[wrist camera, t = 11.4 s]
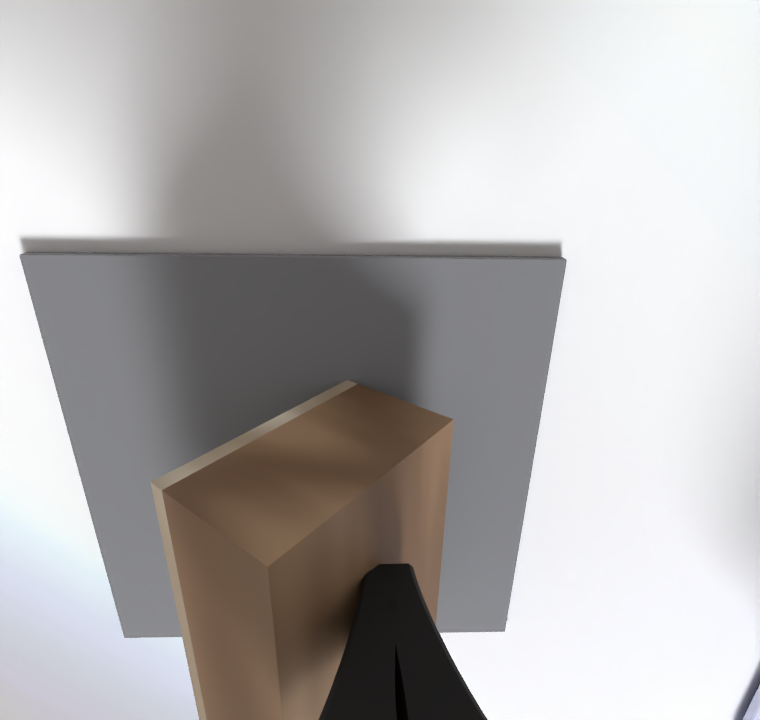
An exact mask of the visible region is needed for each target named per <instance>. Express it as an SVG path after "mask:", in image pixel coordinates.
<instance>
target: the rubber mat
mask: <svg viewBox="0 0 760 720" xmlns="http://www.w3.org/2000/svg"><path fill="white" fill-rule="evenodd" d="M20 259H21V262H22V266H23V270H24V273H25V277H26V281H27V284H28V288H29V292H30V295H31V299H32V302H33V306H34V310H35V313H36V317H37V321H38V324H39V328H40V332H41V335H42V339H43V343H44V346H45V350H46V353H47V357H48V361H49V364H50V368H51V372H52V375H53V379H54V383H55V386H56V390H57V394H58V397H59V401H60V405H61V408H62V412H63V415H64V419H65V423H66V426H67V430H68V434H69V437H70V441H71V445H72V448H73V452H74V456H75V459H76V463H77V466H78V470H79V474H80V477H81V481H82V485H83V488H84V492H85V496H86V499H87V503H88V507H89V510H90V514H91V517H92V521H93V525H94V528H95V532H96V536H97V539H98V543H99V547H100V550H101V554H102V558H103V561H104V565H105V568H106V572H107V576H108V579H109V583H110V587H111V590H112V594H113V598H114V601H115V605H116V609H117V612H118V616H119V620H120V623H121V627H122V630H123V634H124V638H140V637H182V633H181V628H180V623H179V618H178V614H177V609H176V604H175V599H174V594H173V589H172V584H171V580H170V575H169V570H168V565H167V560H166V555H165V550H164V546H163V541H162V536H161V531H160V526H159V521H158V516H157V512H156V507H155V502H154V497H153V492H152V487H151V483H150V482H152V481H154V480H156V479H158V478H160V477H162V476H164V475H165V474H167V473H169V472H171V471H173V470H175V469H177V468H179V467H181V466H183V465H185V464H187V463H189V462H190V461H192V460H194V459H196V458H198V457H200V456H202V455H204V454H206V453H208V452H210V451H212V450H213V449H215V448H217V447H219V446H221V445H223V444H225V443H227V442H229V441H231V440H233V439H235V438H236V437H238V436H240V435H242V434H244V433H246V432H248V431H250V430H252V429H254V428H256V427H258V426H260V425H261V424H263V423H265V422H267V421H269V420H271V419H273V418H275V417H277V416H279V415H281V414H283V413H284V412H286V411H288V410H290V409H292V408H294V407H296V406H298V405H300V404H302V403H304V402H306V401H308V400H309V399H311V398H313V397H315V396H317V395H319V394H321V393H323V392H325V391H327V390H329V389H331V388H332V387H334V386H336V385H338V384H340V383H342V382H344V381H346V380H349V381H351V382H354V383H357V384H360V385H362V386H365V387H368V388H370V389H373V390H376V391H378V392H381V393H384V394H387V395H389V396H392V397H395V398H397V399H400V400H403V401H405V402H408V403H411V404H414V405H416V406H419V407H422V408H424V409H427V410H430V411H432V412H435V413H438V414H440V415H443V416H446V417H449V418H451V419H454V422H453V434H452V445H451V457H450V468H449V480H448V491H447V503H446V514H445V526H444V537H443V549H442V560H441V572H440V584H439V595H438V607H437V618H436V628H437V630H438V632H439V633H443V632H503V631H505V626H506V621H507V615H508V609H509V603H510V597H511V591H512V585H513V579H514V573H515V567H516V561H517V555H518V549H519V543H520V537H521V531H522V525H523V519H524V513H525V507H526V501H527V495H528V489H529V483H530V477H531V471H532V465H533V459H534V453H535V447H536V441H537V435H538V429H539V423H540V417H541V411H542V405H543V399H544V393H545V387H546V381H547V375H548V369H549V363H550V357H551V351H552V345H553V339H554V333H555V327H556V321H557V315H558V309H559V303H560V297H561V291H562V285H563V279H564V273H565V267H566V261H567V260H566V259H564V258H563V257H468V256H360V255H251V254H142V253H34V252H26V253H24V254H21V255H20Z"/></svg>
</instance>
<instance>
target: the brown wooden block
mask: <svg viewBox="0 0 760 720" xmlns="http://www.w3.org/2000/svg"><path fill="white" fill-rule="evenodd" d="M453 422H454V419H451V418H449V417H446V416H443V415H440V414H438V413H435V412H432V411H430V410H427V409H424V408H422V407H419V406H416V405H414V404H411V403H408V402H405V401H403V400H400V399H397V398H395V397H392V396H389V395H387V394H384V393H381V392H378V391H376V390H373V389H370V388H368V387H365V386H362V385H360V384H357V383H354V382H351V381H349V380H346V381H344V382H342V383H340V384H338V385H336V386H334V387H332V388H331V389H329V390H327V391H325V392H323V393H321V394H319V395H317V396H315V397H313V398H311V399H309V400H308V401H306V402H304V403H302V404H300V405H298V406H296V407H294V408H292V409H290V410H288V411H286V412H284V413H283V414H281V415H279V416H277V417H275V418H273V419H271V420H269V421H267V422H265V423H263V424H261V425H260V426H258V427H256V428H254V429H252V430H250V431H248V432H246V433H244V434H242V435H240V436H238V437H236V438H235V439H233V440H231V441H229V442H227V443H225V444H223V445H221V446H219V447H217V448H215V449H213V450H212V451H210V452H208V453H206V454H204V455H202V456H200V457H198V458H196V459H194V460H192V461H190V462H189V463H187V464H185V465H183V466H181V467H179V468H177V469H175V470H173V471H171V472H169V473H167V474H165V475H164V476H162V477H160V478H158V479H156V480H154V481H152V482H150V483H151V487H152V492H153V497H154V502H155V507H156V512H157V516H158V521H159V526H160V531H161V536H162V541H163V546H164V550H165V555H166V560H167V565H168V570H169V575H170V580H171V584H172V589H173V594H174V599H175V604H176V609H177V614H178V618H179V623H180V628H181V633H182V638H183V643H184V647H185V652H186V657H187V662H188V667H189V672H190V677H191V681H192V686H193V691H194V696H195V701H196V706H197V711H198V715H199V720H319V717H320V715H321V712H322V710H323V707H324V705H325V702H326V700H327V697H328V695H329V692H330V690H331V687H332V684H333V681H334V678H335V676H336V673H337V670H338V667H339V664H340V662H341V659H342V656H343V653H344V650H345V646H346V643H347V639H348V636H349V632H350V629H351V625H352V622H353V618H354V614H355V610H356V606H357V601H358V596H359V590H360V583H361V580H362V579H363V577H364V576H365V574H366V573H367V572H369V571H370V570H372V569H373V568H375V567H376V566H377V565H379V564H401V563H409V564H410V565H411V566H413V568H414V572H415V575H416V578H417V581H418V584H419V587H420V590H421V593H422V595H423V598H424V600H425V603H426V605H427V607H428V610H429V612H430V614H431V617H432V619H433V621H434V623H435V626H436V618H437V607H438V595H439V584H440V572H441V560H442V549H443V537H444V526H445V514H446V503H447V491H448V480H449V468H450V457H451V445H452V434H453Z"/></svg>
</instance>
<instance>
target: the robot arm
mask: <svg viewBox="0 0 760 720" xmlns="http://www.w3.org/2000/svg"><path fill="white" fill-rule="evenodd" d="M319 720H487V718H486V717H485V715H484V714H483V712H482V710H481V709H480V707H479V705H478V704H477V702H476V700H475V699H474V697H473V695H472V694H471V692H470V690H469V689H468V687H467V685H466V683H465V681H464V680H463V678H462V676H461V674H460V673H459V671H458V669H457V667H456V665H455V663H454V662H453V660H452V658H451V656H450V654H449V652H448V650H447V648H446V646H445V644H444V642H443V640H442V638H441V636H440V634H439V632H438V630H437V628H436V626H435V623H434V621H433V619H432V617H431V614H430V612H429V610H428V607H427V605H426V603H425V600H424V598H423V595H422V593H421V590H420V587H419V584H418V581H417V578H416V575H415V572H414V568H413V566H411V565H410V564H409V563H401V564H379V565H377V566H376V567H375V568H373V569H372V570H370V571H369V572H367V573H366V574H365V576H364V577H363V579H362V580H361V583H360V590H359V596H358V601H357V606H356V610H355V614H354V618H353V622H352V625H351V629H350V632H349V636H348V639H347V643H346V646H345V650H344V653H343V656H342V659H341V662H340V664H339V667H338V670H337V673H336V676H335V678H334V681H333V684H332V687H331V690H330V692H329V695H328V697H327V700H326V702H325V705H324V707H323V710H322V712H321V715H320V717H319ZM743 720H760V685H759V687H758V689H757V691H756V693H755V695H754V697H753V699H752V701H751V703H750V705H749V707H748V709H747V711H746V713H745V716H744V718H743Z"/></svg>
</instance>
